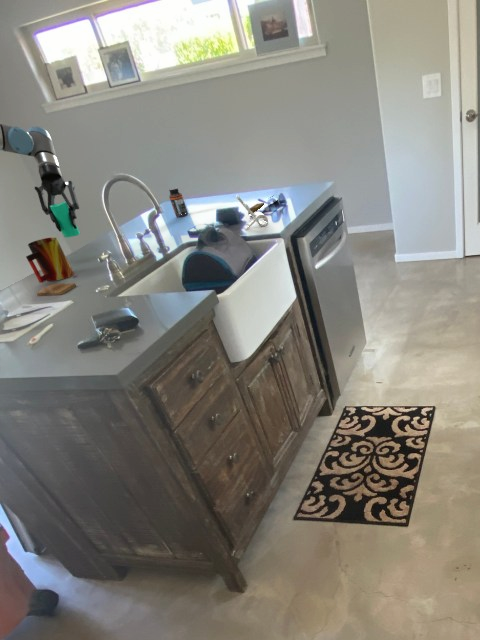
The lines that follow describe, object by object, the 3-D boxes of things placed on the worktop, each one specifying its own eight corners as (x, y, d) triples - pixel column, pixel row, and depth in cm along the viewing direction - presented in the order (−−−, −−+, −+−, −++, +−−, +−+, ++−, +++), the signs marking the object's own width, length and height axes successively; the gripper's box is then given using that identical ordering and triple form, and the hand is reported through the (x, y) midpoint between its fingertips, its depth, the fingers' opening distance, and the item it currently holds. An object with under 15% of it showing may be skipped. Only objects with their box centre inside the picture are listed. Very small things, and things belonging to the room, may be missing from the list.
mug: (41, 286, 184) (21, 250, 176) (49, 275, 194) (31, 241, 186) (69, 281, 186) (51, 244, 178) (75, 270, 196) (58, 235, 188)
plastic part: (269, 225, 213) (261, 193, 206) (245, 230, 211) (237, 198, 204) (265, 221, 219) (258, 190, 211) (242, 226, 217) (234, 194, 209)
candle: (83, 232, 200) (67, 196, 192) (74, 236, 196) (58, 200, 188) (70, 233, 201) (53, 198, 193) (60, 237, 197) (43, 202, 189)
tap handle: (278, 193, 246) (252, 209, 225) (280, 201, 248) (254, 217, 227) (273, 194, 247) (246, 210, 226) (274, 201, 249) (248, 218, 228)
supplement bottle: (174, 216, 250) (165, 189, 243) (186, 213, 252) (177, 186, 245) (178, 218, 246) (168, 190, 239) (190, 215, 248) (181, 187, 241)
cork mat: (37, 296, 176) (35, 293, 175) (52, 287, 182) (51, 284, 181) (61, 294, 174) (60, 291, 173) (76, 286, 180) (75, 283, 179)
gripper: (78, 173, 200) (95, 229, 199) (29, 182, 197) (46, 238, 196) (70, 158, 192) (87, 216, 191) (19, 167, 189) (36, 226, 188)
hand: (66, 227), depth 194 cm, fingers closed on candle, 5 cm apart
